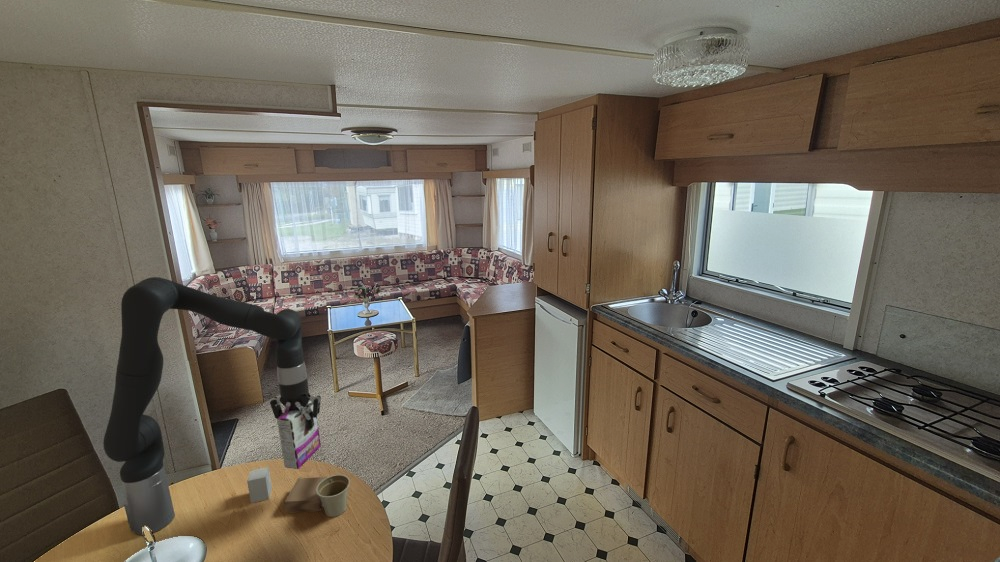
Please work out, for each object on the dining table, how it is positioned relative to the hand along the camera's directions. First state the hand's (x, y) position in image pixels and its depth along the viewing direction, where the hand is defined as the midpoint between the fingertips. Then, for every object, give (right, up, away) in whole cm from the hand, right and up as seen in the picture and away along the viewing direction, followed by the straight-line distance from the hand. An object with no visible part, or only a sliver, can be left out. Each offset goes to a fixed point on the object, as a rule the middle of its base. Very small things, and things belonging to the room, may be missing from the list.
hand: (299, 429), depth 124 cm
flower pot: (+10, -25, +2) cm, 27 cm away
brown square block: (0, -24, +6) cm, 25 cm away
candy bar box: (0, -9, +2) cm, 10 cm away
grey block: (-16, -24, +8) cm, 30 cm away
